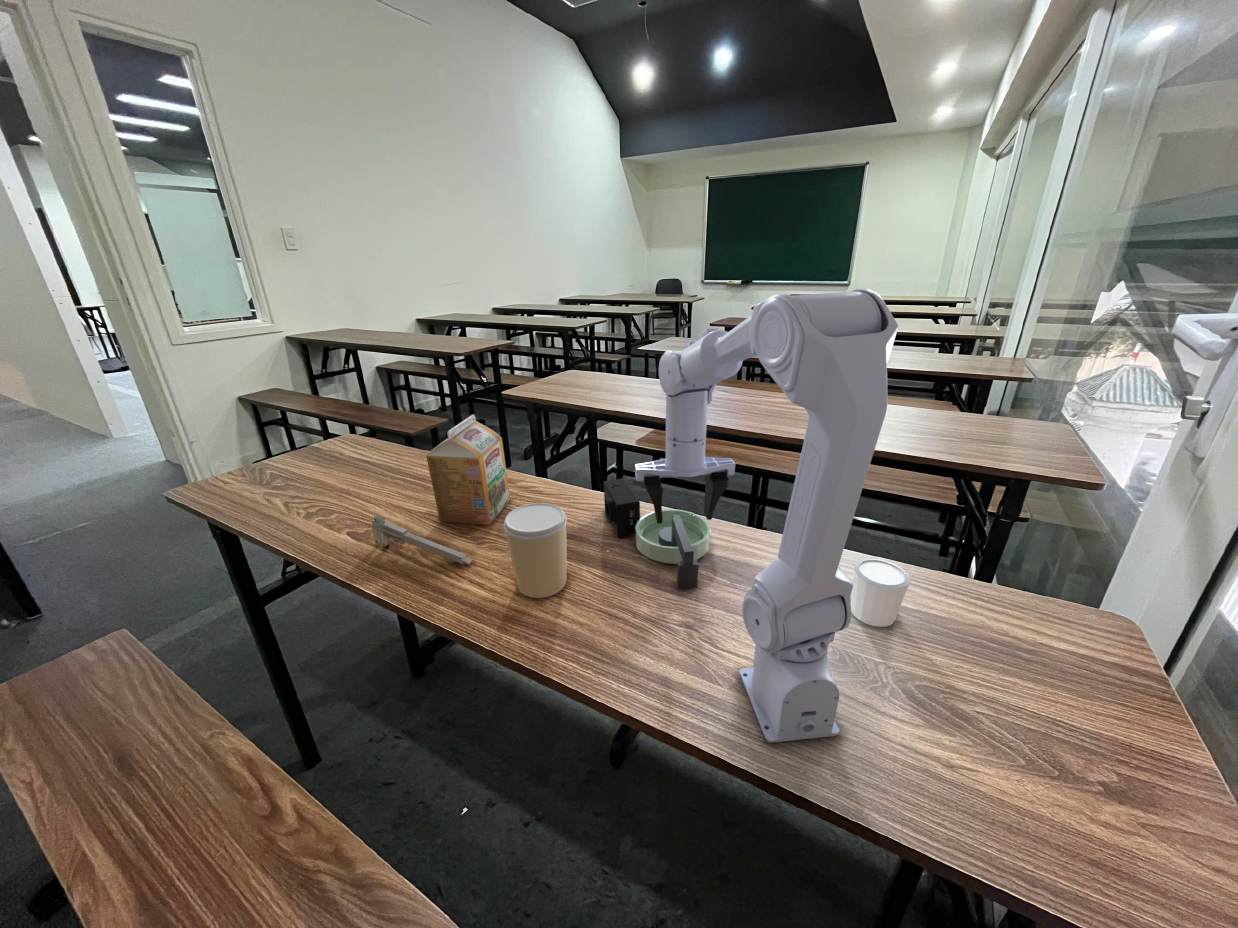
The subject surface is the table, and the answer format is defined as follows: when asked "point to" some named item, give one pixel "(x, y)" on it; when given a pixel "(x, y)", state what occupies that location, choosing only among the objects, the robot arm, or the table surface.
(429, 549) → the caliper
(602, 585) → the table surface
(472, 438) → the milk carton
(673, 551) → the bowl
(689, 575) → the grey lever handle
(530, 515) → the cream lidded canister
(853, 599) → the white round tub
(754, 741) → the table surface
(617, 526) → the digital camera
